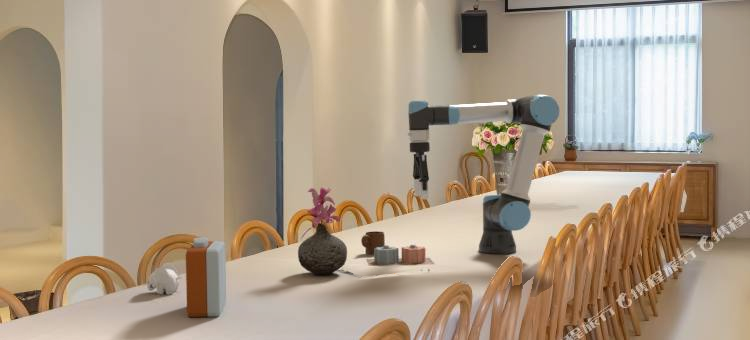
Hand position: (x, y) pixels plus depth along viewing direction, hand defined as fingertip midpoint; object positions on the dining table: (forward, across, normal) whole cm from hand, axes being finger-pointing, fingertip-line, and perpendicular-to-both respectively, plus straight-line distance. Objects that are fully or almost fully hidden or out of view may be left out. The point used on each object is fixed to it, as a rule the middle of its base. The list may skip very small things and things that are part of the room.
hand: (421, 197), depth 301 cm
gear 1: (+22, +7, -15) cm, 28 cm away
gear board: (+24, +7, -10) cm, 27 cm away
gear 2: (+23, +8, -5) cm, 25 cm away
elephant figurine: (+22, +44, -91) cm, 103 cm away
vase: (+23, +22, -40) cm, 51 cm away
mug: (+24, -12, -18) cm, 33 cm away
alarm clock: (+22, +71, -75) cm, 105 cm away
